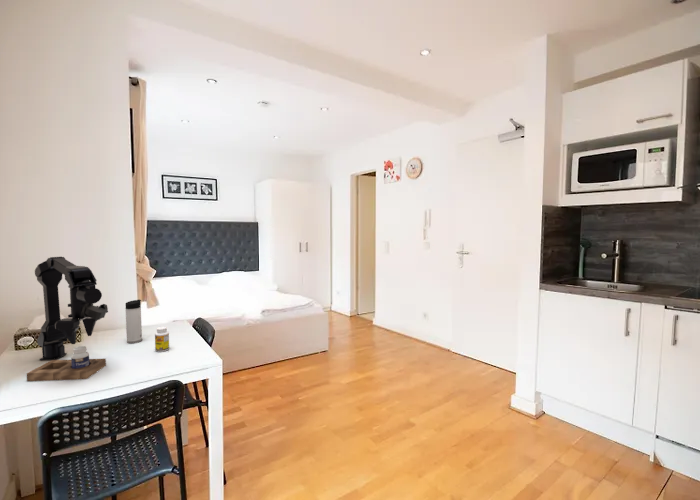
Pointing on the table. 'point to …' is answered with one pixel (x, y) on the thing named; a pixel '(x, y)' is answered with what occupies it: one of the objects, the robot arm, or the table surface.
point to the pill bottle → (80, 357)
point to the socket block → (64, 370)
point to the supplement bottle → (161, 339)
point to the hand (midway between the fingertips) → (81, 339)
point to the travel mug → (133, 321)
